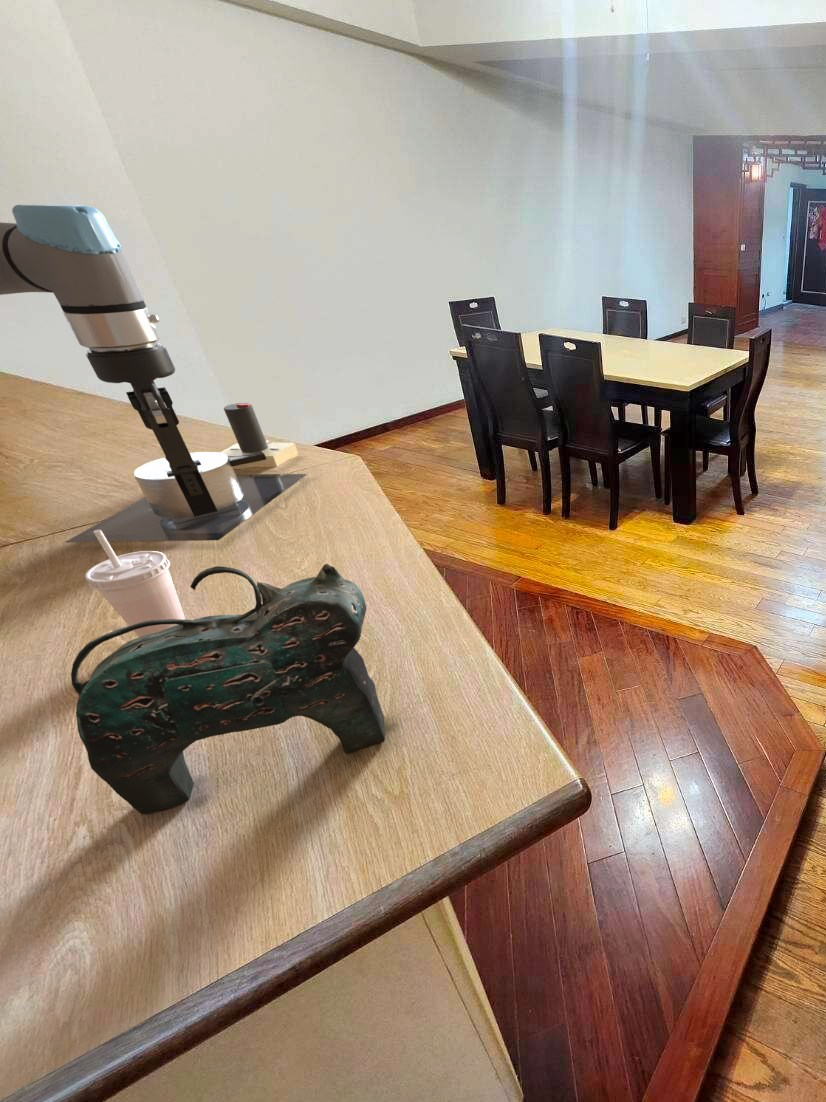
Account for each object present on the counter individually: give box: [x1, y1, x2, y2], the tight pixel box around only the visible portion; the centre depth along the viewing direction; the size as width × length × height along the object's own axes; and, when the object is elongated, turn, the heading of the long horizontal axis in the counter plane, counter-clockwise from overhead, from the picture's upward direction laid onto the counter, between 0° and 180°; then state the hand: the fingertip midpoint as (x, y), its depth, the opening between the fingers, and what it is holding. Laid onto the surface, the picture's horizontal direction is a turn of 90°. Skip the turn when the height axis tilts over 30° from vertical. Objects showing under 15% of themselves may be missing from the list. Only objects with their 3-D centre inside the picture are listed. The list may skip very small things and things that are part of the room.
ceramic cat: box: [70, 563, 386, 815], centre depth 47 cm, size 20×6×20 cm, turn 118°
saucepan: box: [133, 451, 266, 524], centre depth 92 cm, size 16×11×7 cm
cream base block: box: [219, 440, 299, 470], centre depth 109 cm, size 10×8×3 cm
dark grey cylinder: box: [223, 402, 268, 453], centre depth 106 cm, size 4×4×8 cm
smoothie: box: [84, 530, 186, 638], centre depth 63 cm, size 6×6×14 cm
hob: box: [65, 473, 308, 543], centre depth 93 cm, size 20×24×1 cm
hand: (205, 512), depth 86 cm, fingers closed
